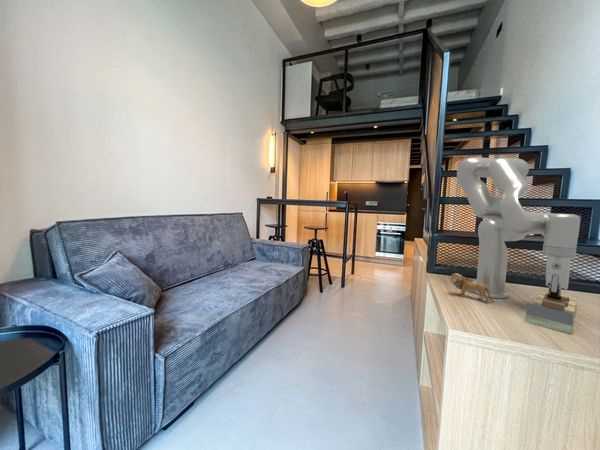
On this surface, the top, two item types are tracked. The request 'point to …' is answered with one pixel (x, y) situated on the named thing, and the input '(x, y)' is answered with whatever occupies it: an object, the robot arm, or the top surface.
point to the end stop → (550, 313)
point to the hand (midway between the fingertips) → (553, 307)
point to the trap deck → (569, 307)
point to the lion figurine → (470, 286)
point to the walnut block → (553, 303)
